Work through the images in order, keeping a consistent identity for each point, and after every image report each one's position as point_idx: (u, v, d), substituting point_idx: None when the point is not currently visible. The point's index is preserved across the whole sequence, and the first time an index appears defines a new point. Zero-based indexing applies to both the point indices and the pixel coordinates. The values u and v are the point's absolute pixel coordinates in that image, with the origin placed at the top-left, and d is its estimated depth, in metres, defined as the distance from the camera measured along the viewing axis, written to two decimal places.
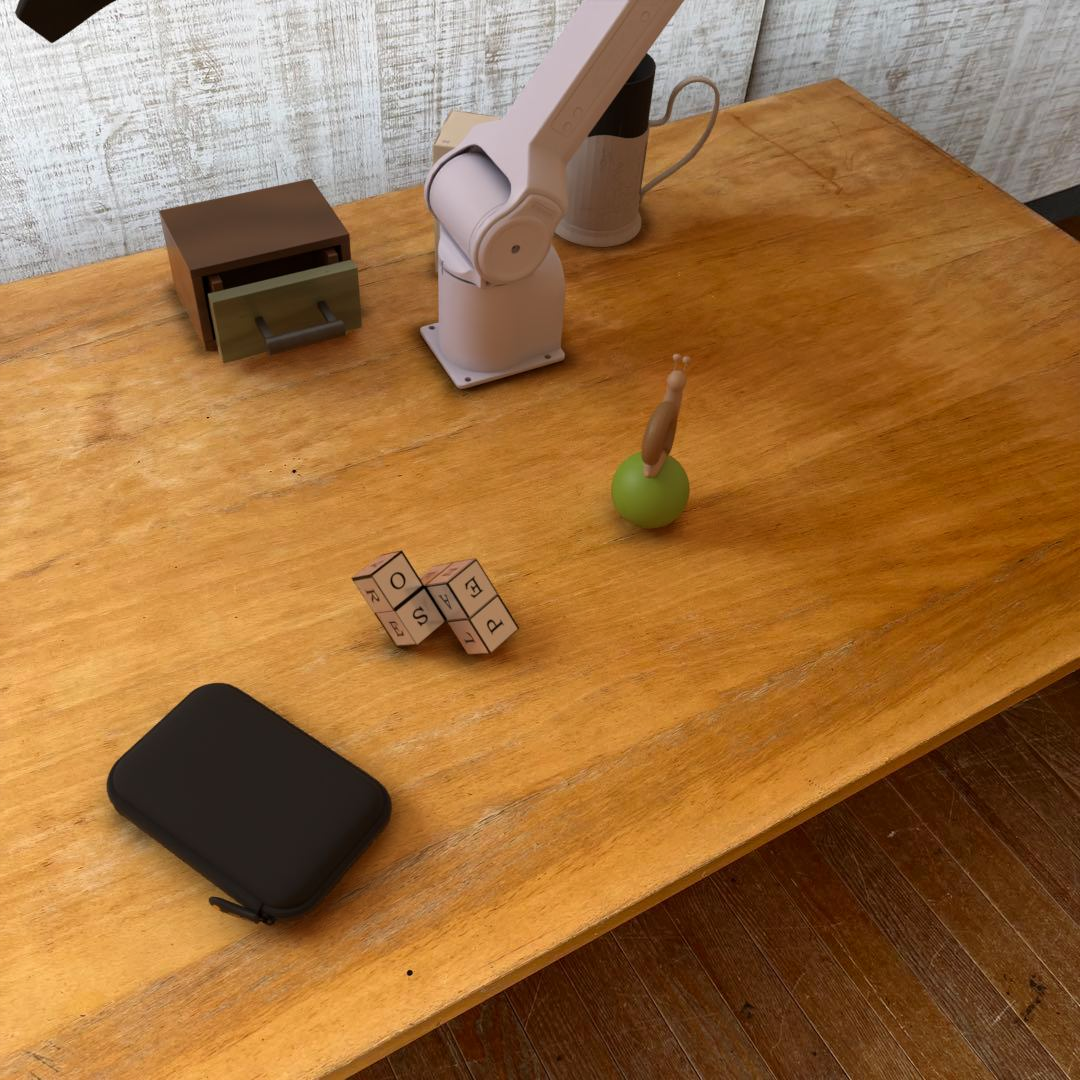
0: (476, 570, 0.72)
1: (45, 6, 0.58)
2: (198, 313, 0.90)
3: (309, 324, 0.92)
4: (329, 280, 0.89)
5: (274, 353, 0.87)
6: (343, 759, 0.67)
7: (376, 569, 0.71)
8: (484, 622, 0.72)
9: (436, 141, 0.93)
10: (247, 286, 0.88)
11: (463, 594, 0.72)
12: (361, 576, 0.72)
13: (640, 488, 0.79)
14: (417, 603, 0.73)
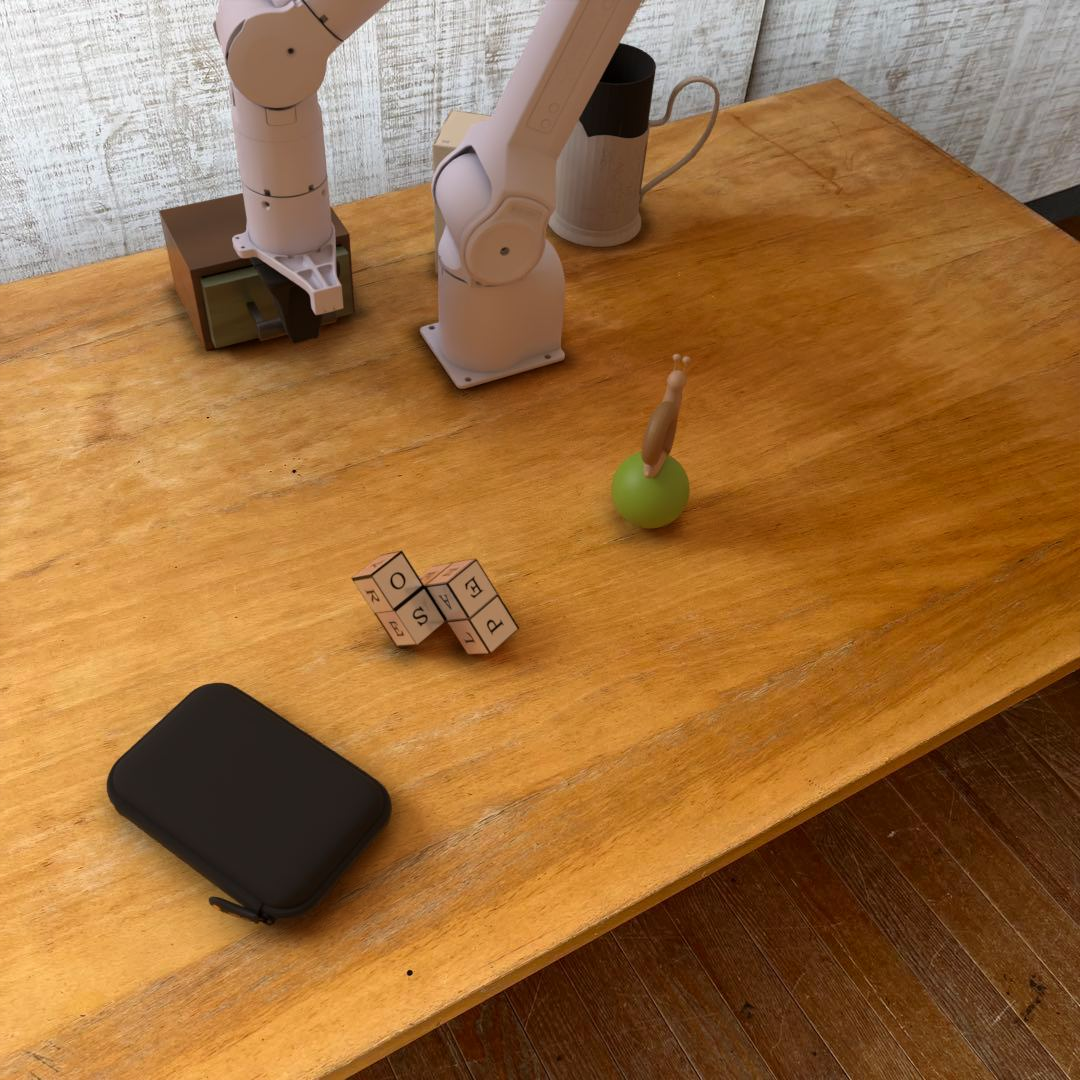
0: (476, 570, 0.72)
1: (299, 328, 0.87)
2: (198, 313, 0.90)
3: None
4: None
5: (265, 337, 0.88)
6: (343, 759, 0.67)
7: (376, 569, 0.71)
8: (484, 622, 0.72)
9: (436, 141, 0.93)
10: (239, 271, 0.89)
11: (463, 594, 0.72)
12: (361, 576, 0.72)
13: (640, 488, 0.79)
14: (417, 603, 0.73)
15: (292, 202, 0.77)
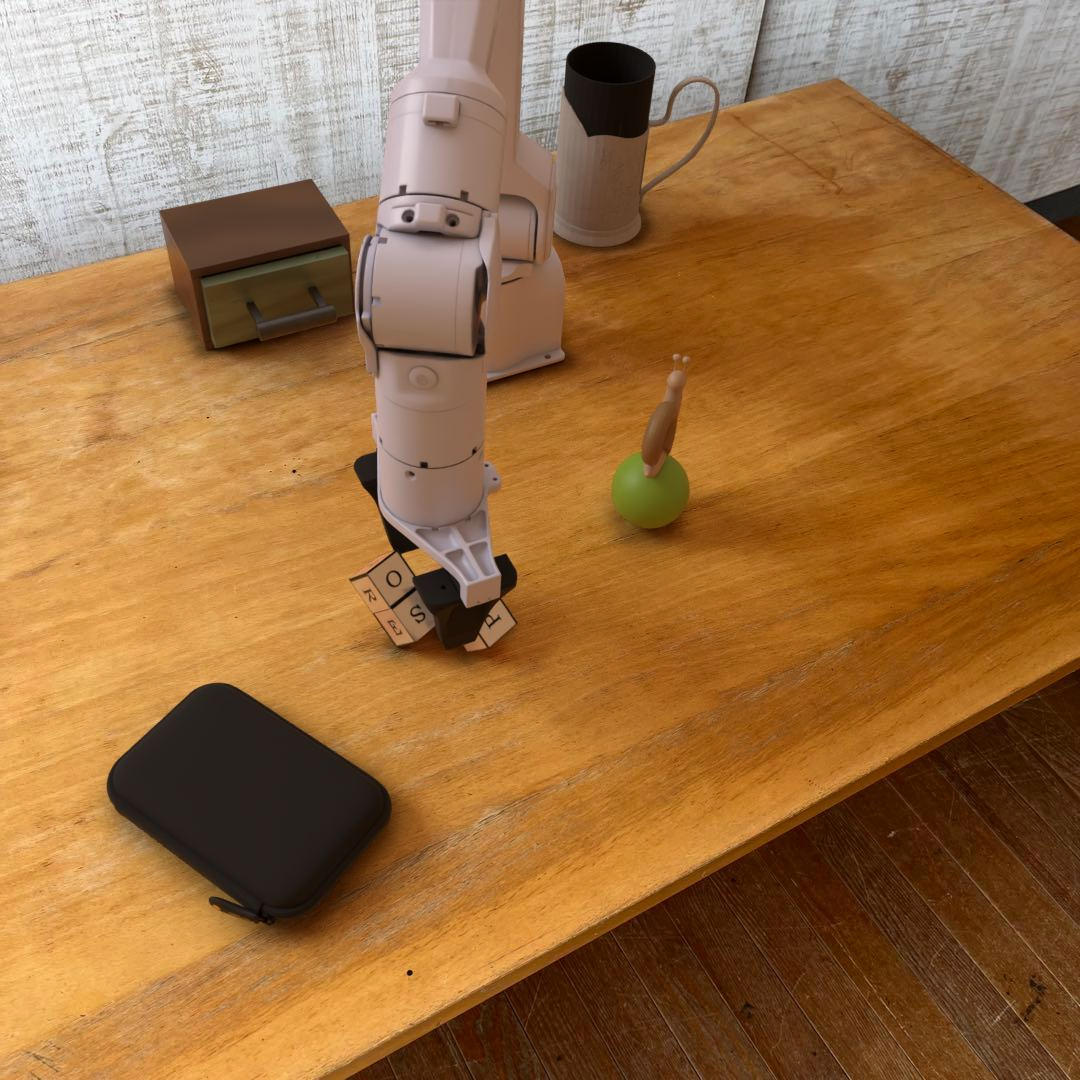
0: None
1: None
2: (198, 313, 0.90)
3: (300, 309, 0.93)
4: (320, 265, 0.91)
5: (265, 337, 0.88)
6: (343, 759, 0.67)
7: (371, 568, 0.72)
8: None
9: None
10: (239, 271, 0.89)
11: None
12: (357, 576, 0.72)
13: (640, 488, 0.79)
14: (414, 600, 0.73)
15: None
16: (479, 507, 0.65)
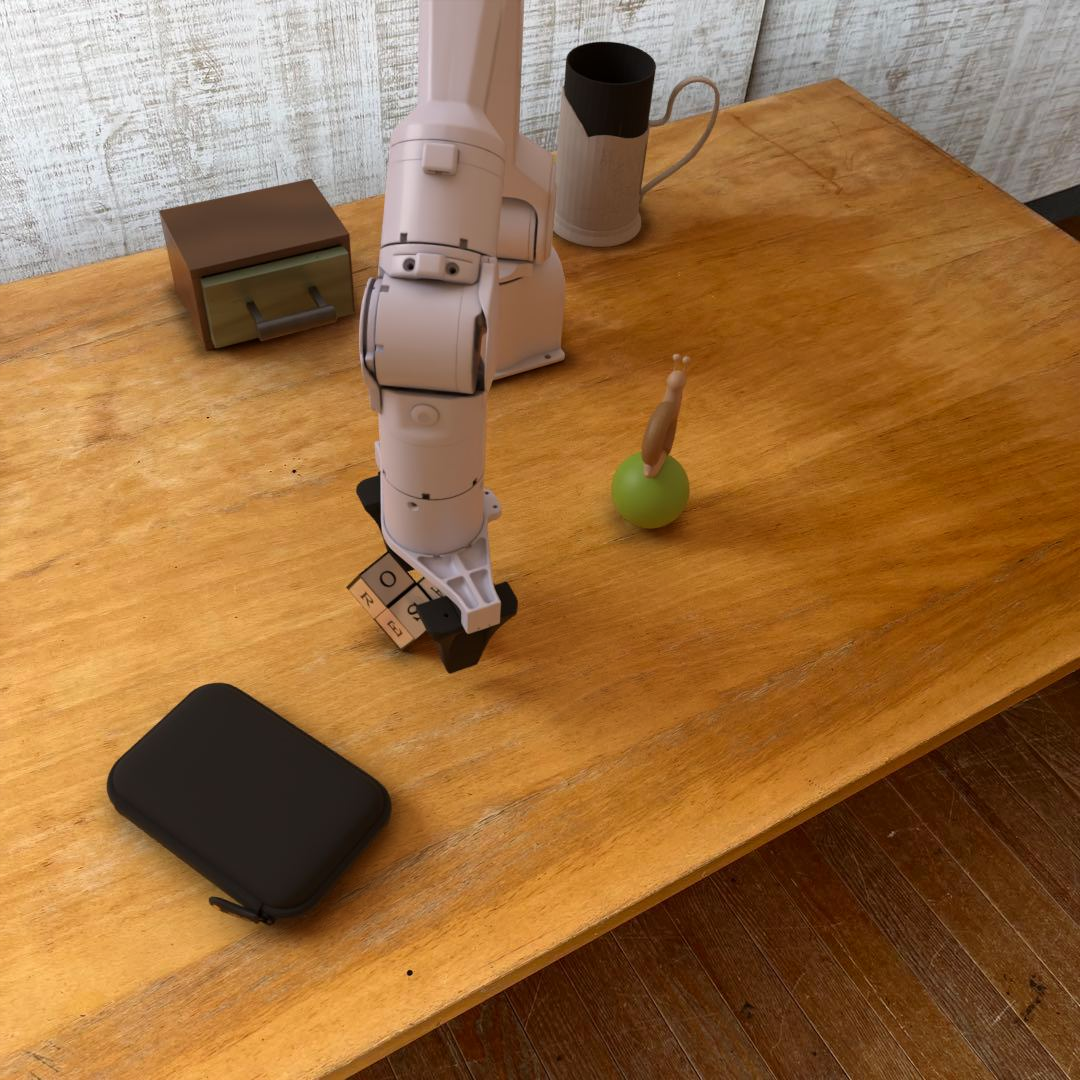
0: None
1: None
2: (198, 313, 0.90)
3: (300, 309, 0.93)
4: (320, 265, 0.91)
5: (265, 337, 0.88)
6: (343, 759, 0.67)
7: (364, 570, 0.72)
8: None
9: None
10: (239, 271, 0.89)
11: None
12: None
13: (640, 488, 0.79)
14: (410, 599, 0.73)
15: None
16: (479, 535, 0.67)
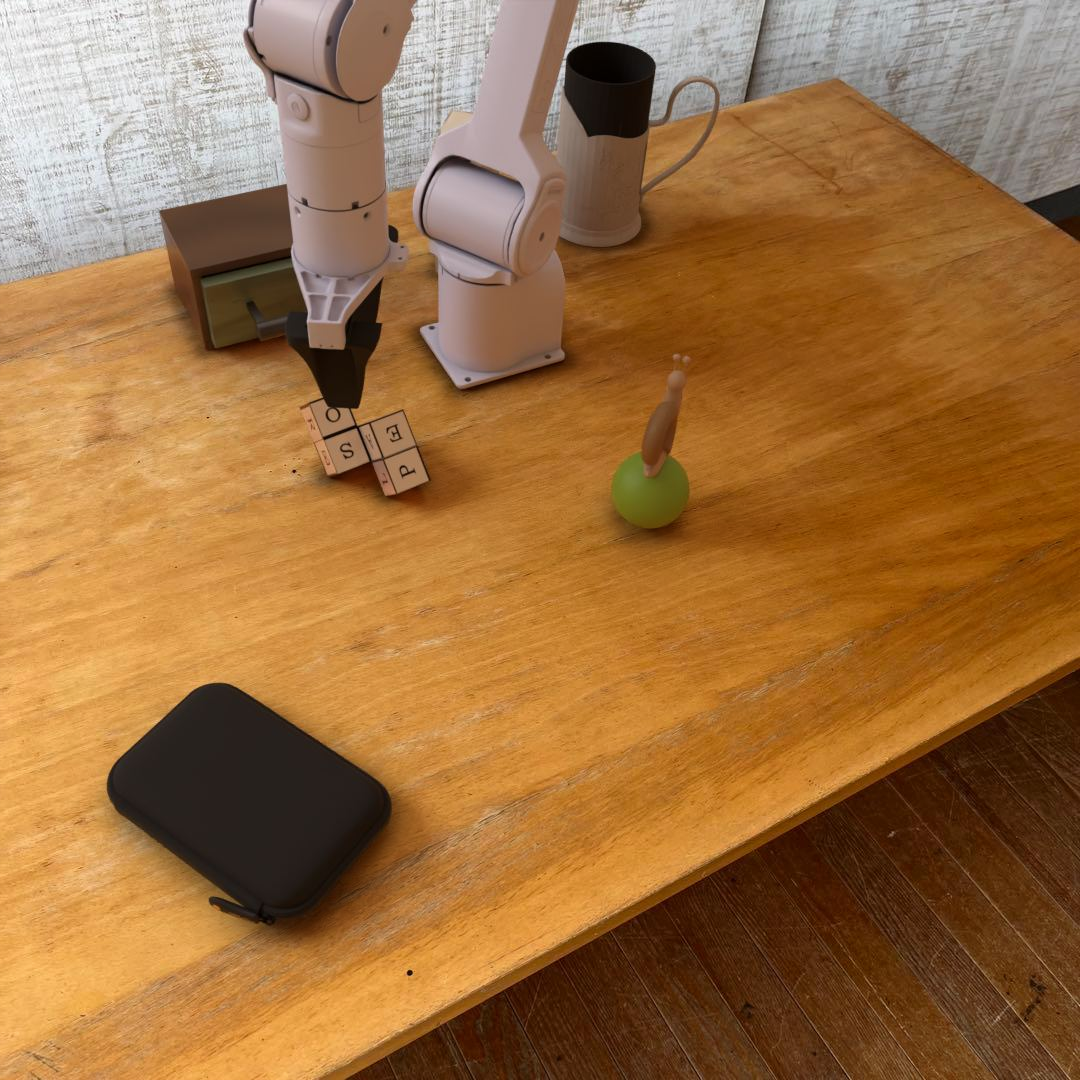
0: (401, 419, 0.81)
1: None
2: (198, 313, 0.90)
3: (300, 309, 0.93)
4: None
5: (265, 337, 0.88)
6: (343, 759, 0.67)
7: (315, 400, 0.81)
8: (397, 466, 0.81)
9: None
10: (239, 271, 0.89)
11: (382, 436, 0.80)
12: (304, 405, 0.82)
13: (640, 488, 0.79)
14: (346, 438, 0.82)
15: None
16: (368, 273, 0.70)
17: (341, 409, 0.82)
